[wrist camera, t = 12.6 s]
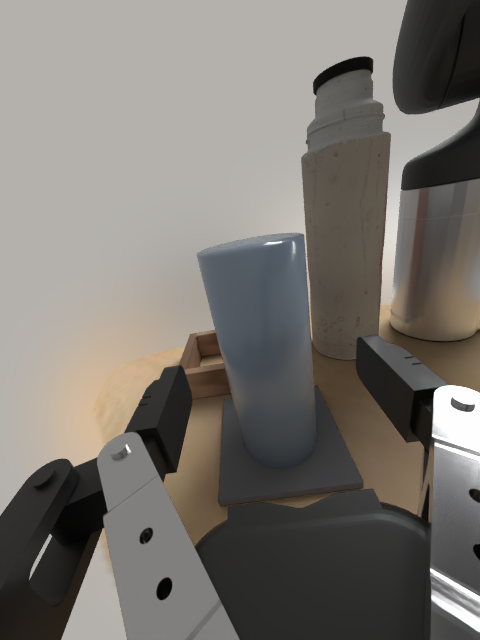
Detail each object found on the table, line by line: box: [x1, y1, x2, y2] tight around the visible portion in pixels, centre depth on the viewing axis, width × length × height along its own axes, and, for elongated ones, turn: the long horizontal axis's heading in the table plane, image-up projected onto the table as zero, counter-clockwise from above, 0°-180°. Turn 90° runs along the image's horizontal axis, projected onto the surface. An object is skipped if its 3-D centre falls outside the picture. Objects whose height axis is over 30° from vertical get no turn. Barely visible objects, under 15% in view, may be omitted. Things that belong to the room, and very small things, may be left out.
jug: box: [197, 233, 317, 468], centre depth 19 cm, size 6×9×16 cm
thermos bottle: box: [301, 57, 391, 360], centre depth 27 cm, size 8×8×28 cm
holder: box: [179, 330, 231, 399], centre depth 31 cm, size 10×10×4 cm
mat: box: [218, 385, 363, 506], centre depth 21 cm, size 10×10×1 cm
